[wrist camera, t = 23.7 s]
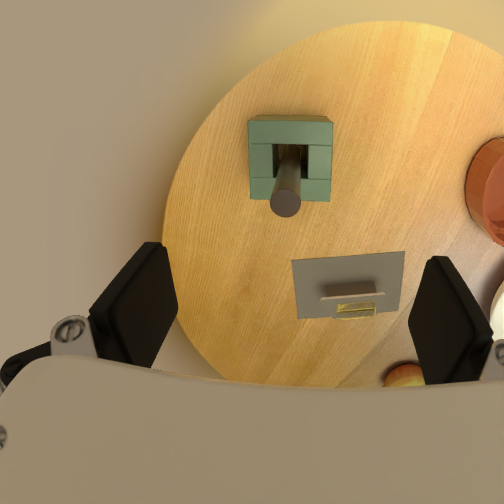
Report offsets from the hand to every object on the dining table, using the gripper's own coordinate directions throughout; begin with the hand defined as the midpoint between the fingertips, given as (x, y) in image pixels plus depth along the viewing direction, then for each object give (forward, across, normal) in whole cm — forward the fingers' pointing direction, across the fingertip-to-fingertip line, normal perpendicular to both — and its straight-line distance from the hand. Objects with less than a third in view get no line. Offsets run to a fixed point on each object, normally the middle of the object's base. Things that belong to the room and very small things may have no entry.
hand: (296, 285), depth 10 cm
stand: (+32, +1, +2) cm, 32 cm away
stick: (+32, +1, +2) cm, 32 cm away
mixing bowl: (+32, -33, +3) cm, 46 cm away
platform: (+32, -9, +23) cm, 41 cm away
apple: (+32, -25, +45) cm, 61 cm away
